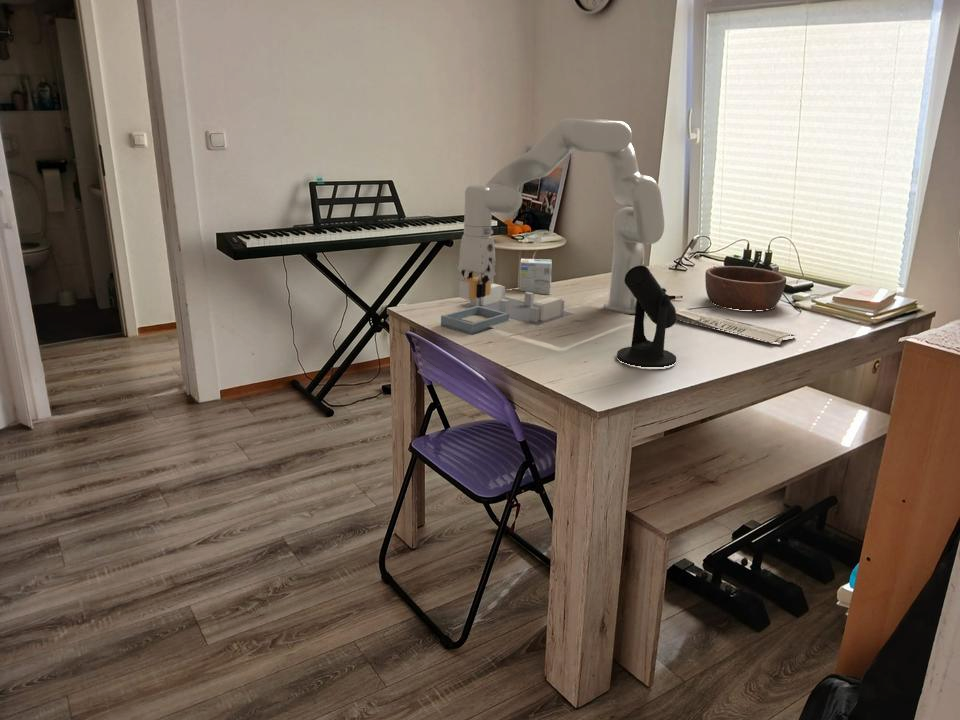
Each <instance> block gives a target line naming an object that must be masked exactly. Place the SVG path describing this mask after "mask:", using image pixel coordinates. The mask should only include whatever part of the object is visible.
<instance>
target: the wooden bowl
mask: <svg viewBox="0 0 960 720" xmlns="http://www.w3.org/2000/svg"><path fill="white" fill-rule="evenodd" d="M704 278H705V280H704V281H705V291H706V295H707V297H708V300H709V302H710V303H711V302H712V303H711V304H713V303H714V304H716V305H719V306H722V307H726V308H732V309H739V310H752V311H756V310H766V309H771V308H772V309H774V308H775V307H776V306H777V305H778V303H779V302H780V300H781V298H782V296H783V293H784V290H785V287H786V284H787V278H786V276H785V275H783V274H782V273H780V272H777V271H773V270H769V269H765V268H759V267H751V266H741V265H737V266H736V265H721V266H720V265H719V266H713V267H710V268H708V269H706V271H705V277H704ZM714 304H713V305H714ZM716 305H715V306H716ZM719 306H718V307H719ZM722 307H721V308H722ZM773 307H774V308H773ZM772 309H771V310H772Z"/></svg>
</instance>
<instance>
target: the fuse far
mask: <svg viewBox="0 0 960 720" xmlns="http://www.w3.org/2000/svg"><path fill="white" fill-rule="evenodd" d="M502 286H503V285H502V284H497V283H491V294H490V295H487V296H485V297H481V298H480V303H479V305H483V306H484V305H487V304H491V303H494V302H498V301H499V300H500V299H502Z"/></svg>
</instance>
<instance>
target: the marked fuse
mask: <svg viewBox="0 0 960 720" xmlns="http://www.w3.org/2000/svg"><path fill="white" fill-rule="evenodd" d="M482 277H483V275H482ZM477 284H479V283H478V275H477V276H473V278H468V279H464V278H463V279H461V280H460V281H459V291H458V293H459V294H458V295H459V296H458V297H459V299H465V300H469V301H471V299H475V298H477ZM491 284H492V278H491V279H490V280H489V281H488V283H486V292H485V296H487V295H490V294H491Z"/></svg>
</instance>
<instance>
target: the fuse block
mask: <svg viewBox="0 0 960 720" xmlns="http://www.w3.org/2000/svg"><path fill="white" fill-rule="evenodd" d="M534 298H535V293H531V292H526V291H525V292H524V301H523V300H520V299H515V298H511V297H506V286H503V285H502V299H500V300H499V301H498V302H494V303H491V304H487V305H484V306H483V305H479V303H480V298H475V299H471V300H469V301H470V302H467V303H463V304H460V306H461V307H466V308H471V307H475V306H481V307H485V308H489V309H493V310H497V311H501V312H505V313H509V319H511V320H514V321H515V320H516V321H519V322H523V323H526V324H531V325H534V326H540V325H543V324H547V323H550V322H553V321H555V320H559V319H561V318H565V317H568V316H571V315H574V312H569V311H565V300H564V299H562V306H561V314H560V315H559V316H556V317H553V318H550V319H547V320H544V321H542V320H539V312H540V308H538V307H534V306H533V303H534V302H535V299H534Z"/></svg>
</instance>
